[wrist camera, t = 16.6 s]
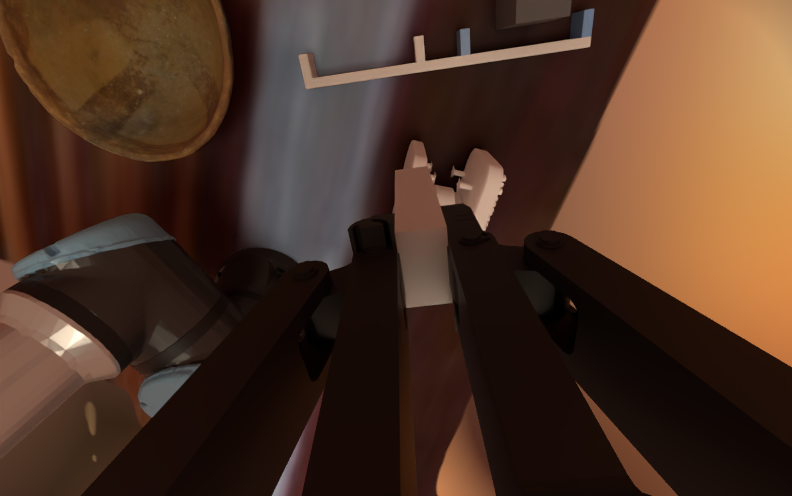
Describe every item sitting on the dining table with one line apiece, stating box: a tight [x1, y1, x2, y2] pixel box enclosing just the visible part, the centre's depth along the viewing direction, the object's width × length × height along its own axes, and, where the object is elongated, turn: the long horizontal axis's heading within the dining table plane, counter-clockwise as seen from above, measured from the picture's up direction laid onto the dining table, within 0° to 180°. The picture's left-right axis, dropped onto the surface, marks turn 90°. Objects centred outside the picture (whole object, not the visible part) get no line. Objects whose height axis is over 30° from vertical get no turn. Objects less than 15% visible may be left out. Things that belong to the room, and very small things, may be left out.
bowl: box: [0, 0, 234, 162], centre depth 36 cm, size 22×23×10 cm
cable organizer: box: [392, 140, 506, 231], centre depth 44 cm, size 15×11×12 cm
